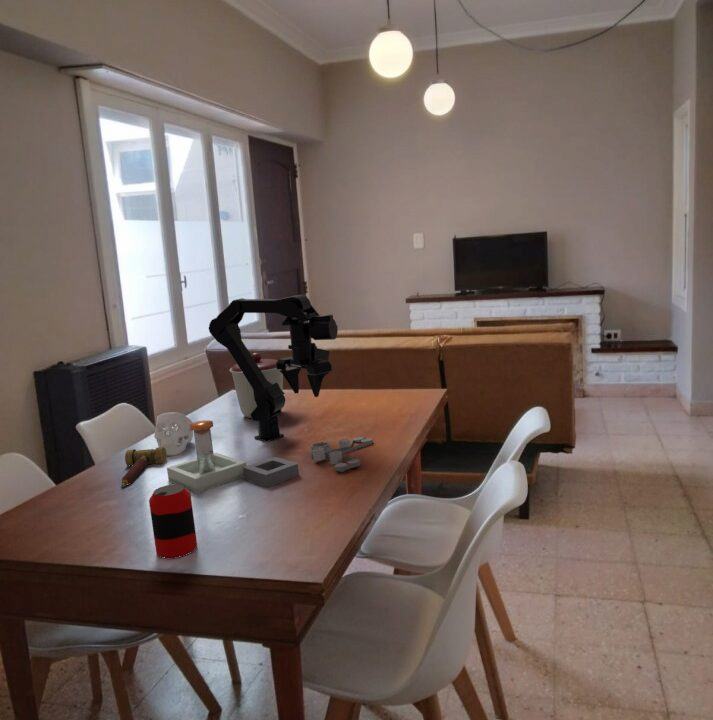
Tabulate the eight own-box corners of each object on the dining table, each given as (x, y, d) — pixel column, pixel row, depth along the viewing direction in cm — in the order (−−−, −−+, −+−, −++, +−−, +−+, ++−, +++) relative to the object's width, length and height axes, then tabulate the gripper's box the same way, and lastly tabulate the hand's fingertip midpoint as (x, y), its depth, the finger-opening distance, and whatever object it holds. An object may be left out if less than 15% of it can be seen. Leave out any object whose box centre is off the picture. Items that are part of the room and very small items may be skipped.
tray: (168, 481, 169) (166, 467, 168) (217, 465, 178) (216, 452, 177) (197, 493, 158) (195, 479, 158) (247, 475, 168) (245, 462, 167)
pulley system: (297, 478, 166) (358, 473, 163) (295, 459, 165) (355, 454, 162) (323, 447, 193) (375, 443, 190) (321, 431, 192) (373, 426, 189)
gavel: (141, 475, 165) (100, 478, 166) (144, 492, 166) (104, 496, 167) (165, 444, 186) (129, 447, 186) (167, 460, 187) (132, 463, 187)
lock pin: (195, 472, 170) (189, 422, 168) (218, 469, 171) (212, 419, 169) (196, 479, 165) (189, 427, 163) (219, 475, 166) (213, 424, 164)
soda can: (148, 557, 127) (139, 496, 125) (172, 539, 134) (164, 481, 132) (182, 561, 124) (173, 498, 122) (205, 543, 131) (197, 483, 129)
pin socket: (244, 479, 166) (243, 467, 165) (276, 468, 172) (274, 456, 171) (267, 487, 159) (265, 475, 158) (299, 475, 165) (297, 463, 164)
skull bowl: (146, 455, 187) (148, 412, 192) (162, 467, 200) (163, 427, 205) (184, 451, 187) (185, 409, 192) (197, 464, 200) (198, 424, 205)
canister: (242, 425, 216) (235, 360, 212) (229, 414, 233) (222, 353, 229) (296, 415, 223) (290, 352, 219) (280, 405, 239) (274, 346, 236)
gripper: (344, 337, 188) (349, 392, 191) (303, 334, 202) (308, 385, 204) (313, 344, 181) (318, 401, 183) (272, 340, 195) (278, 393, 197)
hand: (306, 395), depth 192 cm, fingers open, 9 cm apart
